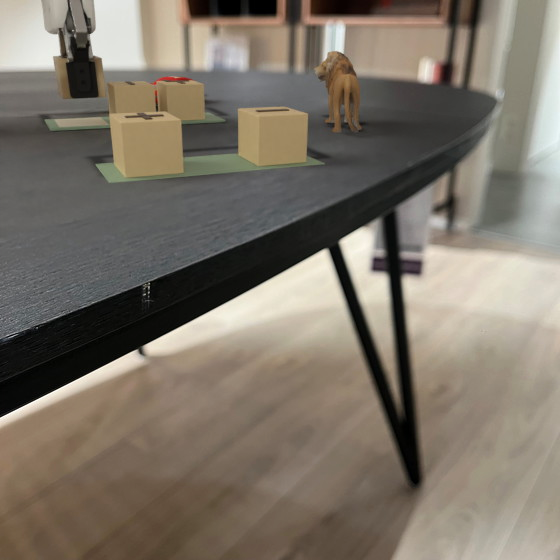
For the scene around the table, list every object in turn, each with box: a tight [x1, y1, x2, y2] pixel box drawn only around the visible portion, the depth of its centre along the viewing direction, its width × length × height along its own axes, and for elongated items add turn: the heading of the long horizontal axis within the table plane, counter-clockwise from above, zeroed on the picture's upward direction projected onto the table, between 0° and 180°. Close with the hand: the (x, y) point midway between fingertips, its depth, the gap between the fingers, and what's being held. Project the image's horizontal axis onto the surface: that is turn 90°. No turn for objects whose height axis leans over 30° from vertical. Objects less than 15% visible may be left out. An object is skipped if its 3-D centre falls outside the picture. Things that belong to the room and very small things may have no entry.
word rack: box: [44, 79, 226, 132], centre depth 74 cm, size 22×7×5 cm, turn 115°
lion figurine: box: [313, 50, 363, 134], centre depth 73 cm, size 15×5×9 cm, turn 10°
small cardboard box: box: [52, 54, 107, 100], centre depth 70 cm, size 5×5×5 cm
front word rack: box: [95, 106, 326, 184], centre depth 52 cm, size 20×7×5 cm, turn 115°
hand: (81, 93), depth 70 cm, fingers closed on small cardboard box, 5 cm apart
